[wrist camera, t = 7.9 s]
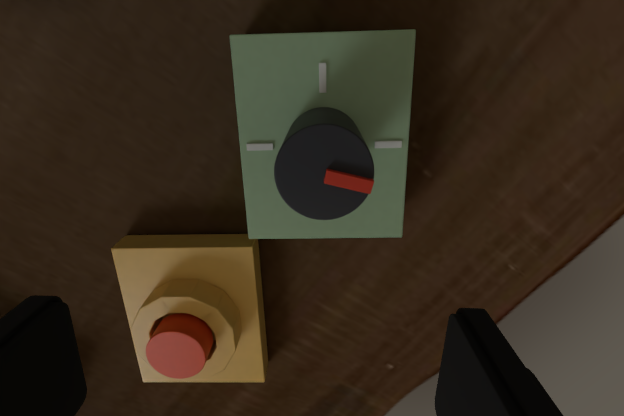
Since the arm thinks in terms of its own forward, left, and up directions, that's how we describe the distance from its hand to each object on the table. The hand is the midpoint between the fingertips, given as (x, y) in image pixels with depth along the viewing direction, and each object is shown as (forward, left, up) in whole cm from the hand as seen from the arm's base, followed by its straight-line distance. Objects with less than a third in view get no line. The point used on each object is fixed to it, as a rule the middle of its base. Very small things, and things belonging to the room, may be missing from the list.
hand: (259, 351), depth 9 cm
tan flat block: (+10, -7, -16) cm, 20 cm away
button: (+10, -7, -12) cm, 17 cm away
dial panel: (-2, +2, -16) cm, 16 cm away
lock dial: (-2, +2, -13) cm, 13 cm away
